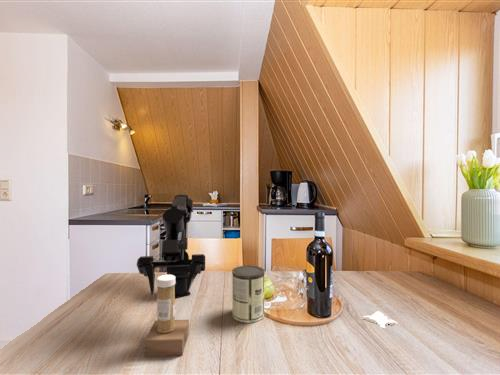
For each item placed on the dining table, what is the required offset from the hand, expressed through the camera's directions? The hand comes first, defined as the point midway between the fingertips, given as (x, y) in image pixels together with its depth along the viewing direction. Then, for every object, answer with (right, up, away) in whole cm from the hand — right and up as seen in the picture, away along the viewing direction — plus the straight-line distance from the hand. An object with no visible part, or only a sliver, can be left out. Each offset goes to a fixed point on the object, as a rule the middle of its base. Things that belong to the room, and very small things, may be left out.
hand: (170, 293), depth 70 cm
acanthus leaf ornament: (+61, -13, +9) cm, 63 cm away
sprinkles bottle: (0, -8, -3) cm, 9 cm away
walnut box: (0, -12, -3) cm, 12 cm away
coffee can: (+21, -12, +13) cm, 27 cm away
